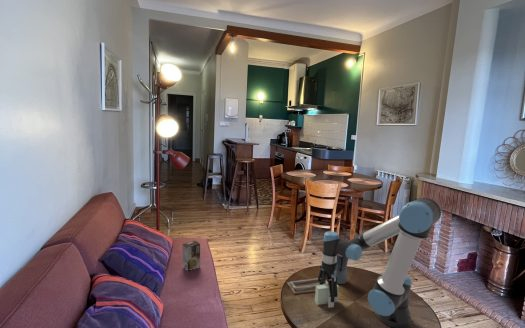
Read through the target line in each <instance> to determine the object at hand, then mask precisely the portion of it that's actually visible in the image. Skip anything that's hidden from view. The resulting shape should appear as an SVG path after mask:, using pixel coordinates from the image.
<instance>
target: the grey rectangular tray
mask: <svg viewBox="0 0 525 328" xmlns="http://www.w3.org/2000/svg"><path fill="white" fill-rule="evenodd" d="M320 279H321V278H320ZM326 284H328V282H327V279H326V281H325V285H326ZM286 285H287V286H288V288H290V290H291V291H292V293H293V294H294V295H298V294H306V293H315V290H316V286H319V285H320V284H319V281H318V277H315V278H308V279H300V280H299V279H298V280H291V281H286Z"/></svg>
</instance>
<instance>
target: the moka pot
mask: <svg viewBox="0 0 525 328" xmlns="http://www.w3.org/2000/svg"><path fill="white" fill-rule="evenodd" d="M336 263H337V264H336V270H335V271H334V276H335V277H337V285H345V284H346V283H347V266H348V263H349V259H348V258H346V257H344V256H341V255H339V254H337V262H336Z"/></svg>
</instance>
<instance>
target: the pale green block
mask: <svg viewBox="0 0 525 328" xmlns="http://www.w3.org/2000/svg"><path fill="white" fill-rule="evenodd" d="M339 289H340V286H339V284H337V295H338V296H337V297H335V298H334V303H338V302H339V293H340V292H339V291H340V290H339ZM314 293H315V294H314V303H315V304H316V305H317V306H320V305H325V304H327V305H328V303H329V295H330V291H329V284H326V285H319V286H316V290H315V292H314Z"/></svg>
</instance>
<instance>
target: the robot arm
mask: <svg viewBox="0 0 525 328" xmlns="http://www.w3.org/2000/svg"><path fill="white" fill-rule="evenodd" d="M398 213H399V214H396V216H394V217H392V218H390V219H388V220H387V221H384V222H382V223H380V224H378V225H377V226H375V227H372V228H371V229H368V230H367V231H365V232H363V233H361V234H359V235H356V236H355V237H353V238H352V239H349V240H344V239H341V238H340V236H339V233H337V232H336V231H330V230H328V231H326V232H324V234H323V240H322V241H323V243H322V245H323V246H322V254H321V265H320V266H319V273H318V277H317V278H318V281H319V284H320V285H325V281H326V280H327V282H328V284H329V291H330V295H329V303H327V308H334V306H335V302H334V298H335V297H337V296H338V297H339V294H338V295H337V285H338V283H337V277H335V276H334V271H335V270H336V264H337V263H336V262H337V254H339V255H341V256H344V257H346V258H348V260H352V261H355V262H357V261H359V260H360V258H361V257H362V254H363V251H365V250H368V249H370V248H372V247H373V246H376V245H378V244H380V243H382V242H384V241H386V240H388V239H390V238H393V237H395V236H397V238H396V240H395V242H394V246H393V248H392V251H391V254H390V256H389V258H388V261H387V263H386V266H385V269H384V271H383V273H382V275H380V276H378V277H377V279H376V281H375V284H374V285H373V288H372V289H371V290H370V291H369V293H368V294H367V300H368V304H369V306H370V307H371V309H372V310H373V311H374V312H375V313H376V316H377V318H378V320H380V322H382V323H383V324H385V325H386V326H388V327H391V328H410V326H411V324H412V318H411V314H410V309H409V306H410V305H409V303H410V296H411V287H412V279H411V278H410V277H409V276H408V273H409V271H410V269H411V267H412V265H413V262H414V259H415V257H416V254H417V252H418V250H419V247H420V245H421V243H422V241H423V240H427V239H428V238H429V235H430V233H431V230H432V228H433V226H434V224H436V223H437V222H438V221H439V220H440V218H441V216H442V208H441V206H440V204H439V203H438V202H437V201H436V200H435V199H432V198H430V197H420V198H417V199H415V200H413V201H409V202H407V203H406V204H404V205H403V206H402V208H401V209H400V210H399V212H398ZM320 278H321V279H320Z"/></svg>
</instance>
